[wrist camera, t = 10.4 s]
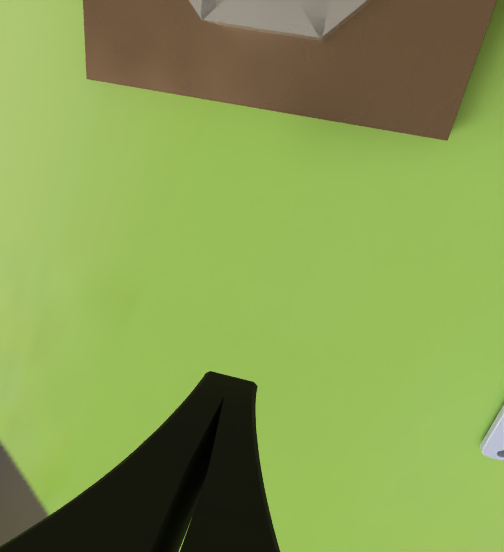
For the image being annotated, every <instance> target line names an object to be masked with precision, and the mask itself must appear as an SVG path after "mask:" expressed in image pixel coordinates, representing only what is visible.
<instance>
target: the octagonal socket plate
mask: <svg viewBox="0 0 504 552" xmlns="http://www.w3.org/2000/svg"><path fill="white" fill-rule="evenodd" d="M496 1H497V0H83V9H84V31H85V52H86V73H87V79H90V80H96V81H102V82H108V83H114V84H119V85H125V86H131V87H137V88H143V89H149V90H154V91H160V92H166V93H172V94H178V95H184V96H190V97H195V98H201V99H207V100H213V101H219V102H225V103H230V104H236V105H242V106H248V107H254V108H260V109H266V110H271V111H277V112H283V113H289V114H295V115H301V116H307V117H312V118H318V119H324V120H330V121H336V122H342V123H347V124H353V125H359V126H365V127H371V128H377V129H383V130H388V131H394V132H400V133H406V134H412V135H418V136H423V137H429V138H435V139H441V140H448V138H449V135H450V132H451V129H452V126H453V123H454V121H455V118H456V115H457V112H458V109H459V106H460V104H461V101H462V98H463V95H464V92H465V89H466V86H467V84H468V81H469V78H470V75H471V72H472V69H473V67H474V64H475V61H476V58H477V55H478V52H479V50H480V47H481V44H482V41H483V38H484V35H485V33H486V30H487V27H488V24H489V21H490V18H491V16H492V13H493V10H494V7H495V4H496Z"/></svg>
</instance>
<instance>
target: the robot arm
mask: <svg viewBox="0 0 504 552" xmlns="http://www.w3.org/2000/svg"><path fill="white" fill-rule="evenodd" d="M256 392H257V385H256V384H255V383H254V382H251V381H247V380H243V379H239V378H235V377H231V376H227V375H223V374H219V373H215V372H211V371H210V372H208V373H206V374H205V375H204V377H203V378H202V380H201V381H200V382H199V383H198V385H197V386H196V387H195V389H194V390H193V391H192V392H191V394H190V395H189V396H188V397H187V398H186V399H185V401H184V402H183V403H182V404H181V405H180V406H179V407H178V408H177V409H176V410H175V412H174V413H173V414H172V415H171V416H170V417H169V418H168V419H167V420H166V421H165V422H164V423H163V424H162V425H161V426H160V427H159V428H158V429H157V430H156V431H155V432H154V433H153V434H152V435H151V436H150V437H149V438H148V439H147V440H145V441H144V442H143V443H142V444H141V445H140V446H139V447H138V448H137V449H136V450H135V451H134V452H133V453H131V454H130V455H129V456H128V457H127V458H126V459H125V460H123V461H122V462H121V463H120V464H119V465H117V466H116V467H115V468H114V469H112V470H111V471H110V472H109V473H107V474H106V475H105V476H104V477H103V478H101V479H100V480H99V481H97V482H96V483H95V484H93V485H92V486H91V487H89V488H88V489H87V490H85V491H84V492H83V493H81V494H80V495H78V496H77V497H76V498H74V499H73V500H72V501H70V502H69V503H67V504H66V505H65V506H63V507H62V508H60V509H59V510H57V511H56V512H54V513H53V514H51V515H50V516H48V517H46V518H45V519H43V520H42V521H40V522H39V523H37V524H36V525H34V526H32V527H31V528H29V529H28V530H26V531H25V532H23V533H22V534H20V535H18V536H17V537H15V538H14V539H12V540H10V541H9V542H7V543H5V544H4V545H2V546H1V547H0V552H179V549H180V546H181V544H182V541H183V539H184V536H185V534H186V536H185V539H184V542H183V545H182V547H181V550H180V552H280V550H279V546H278V543H277V539H276V535H275V532H274V528H273V524H272V520H271V516H270V512H269V507H268V503H267V498H266V493H265V489H264V483H263V478H262V472H261V466H260V459H259V451H258V443H257V433H256V416H255V403H256ZM480 448H481V450H482V453H483V454H484V455H485V456H487V457H490V458H494V459H499V460H503V461H504V405H503V407H502V409H501V410H500V412H499V414H498V415H497V417H496V419H495V420H494V422H493V424H492V426H491V427H490V429H489V431H488V432H487V434H486V436H485V437H484V439H483V441H482V443H481V445H480ZM501 450H503V451H501ZM190 521H191V522H190ZM189 524H190V525H189ZM188 526H189V528H188ZM187 529H188V531H187ZM186 531H187V533H186Z"/></svg>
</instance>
